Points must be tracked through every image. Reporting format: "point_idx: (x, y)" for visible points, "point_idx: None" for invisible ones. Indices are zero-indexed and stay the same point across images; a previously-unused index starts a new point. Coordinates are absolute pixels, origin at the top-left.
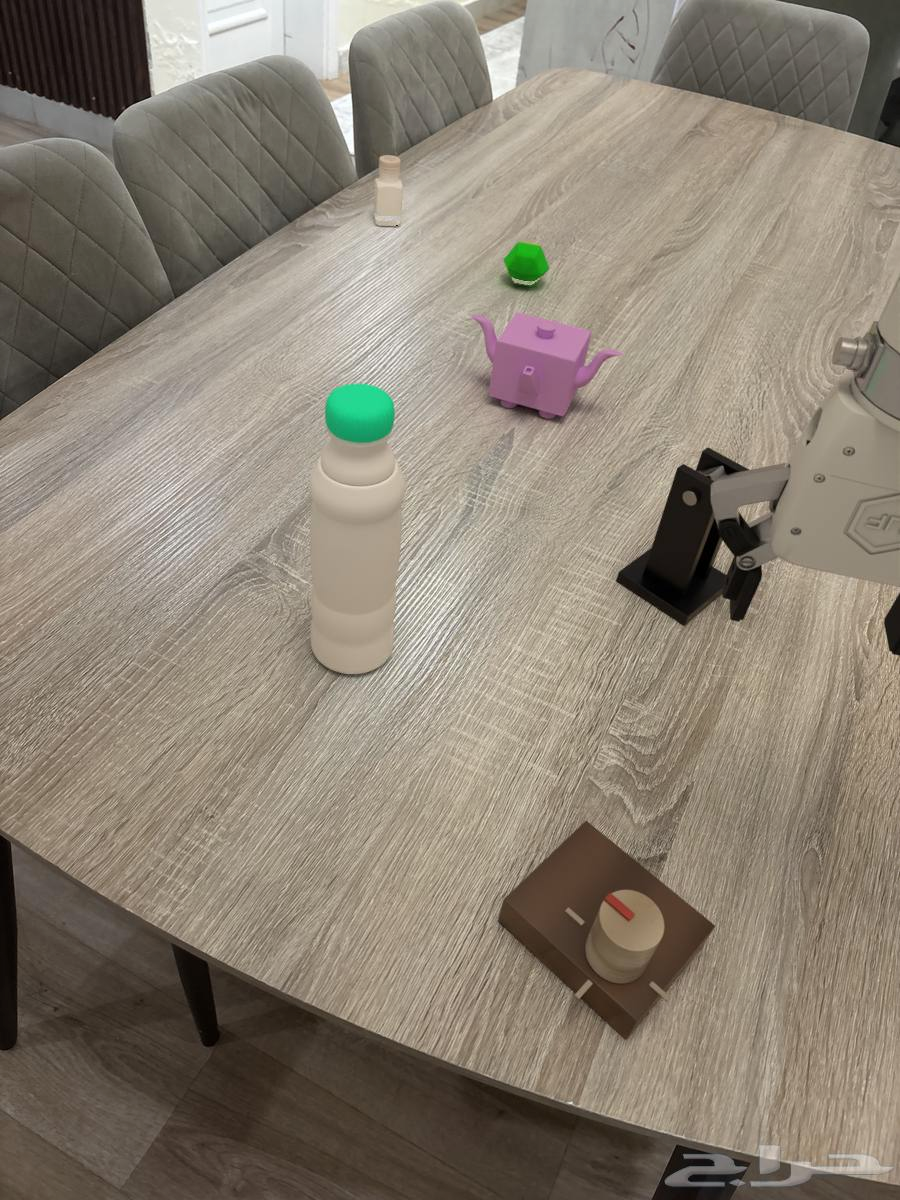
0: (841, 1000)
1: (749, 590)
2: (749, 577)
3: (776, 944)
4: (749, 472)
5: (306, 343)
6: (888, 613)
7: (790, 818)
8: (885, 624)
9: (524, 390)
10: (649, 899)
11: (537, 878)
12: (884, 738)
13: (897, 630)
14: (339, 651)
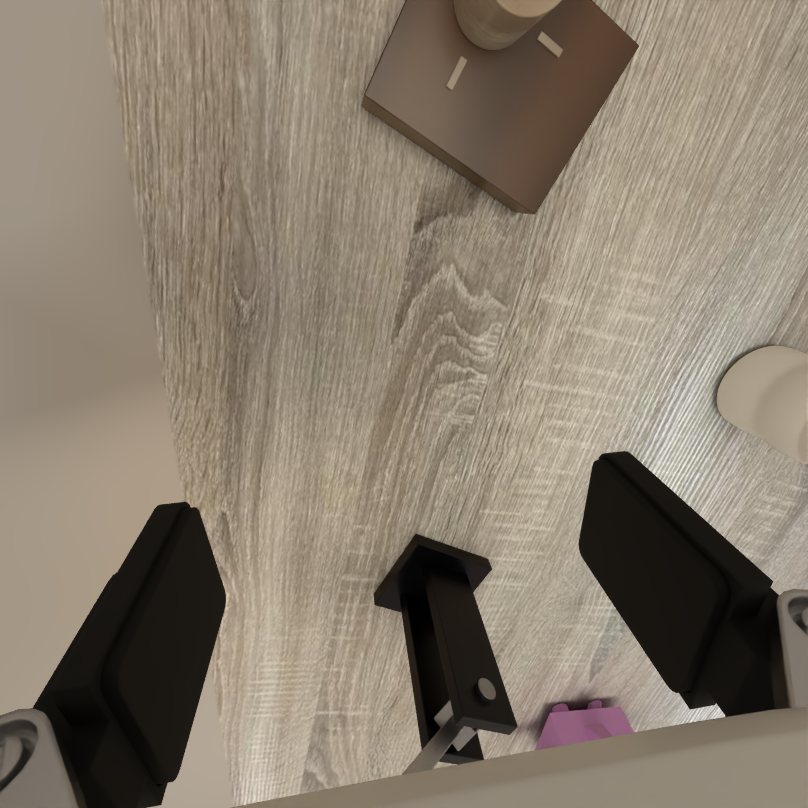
0: (179, 77)
1: (695, 529)
2: (755, 569)
3: (272, 141)
4: (436, 762)
5: None
6: (219, 620)
7: (277, 332)
8: (221, 587)
9: (599, 727)
10: (504, 5)
11: (595, 97)
12: (186, 476)
13: (184, 573)
14: (804, 356)
